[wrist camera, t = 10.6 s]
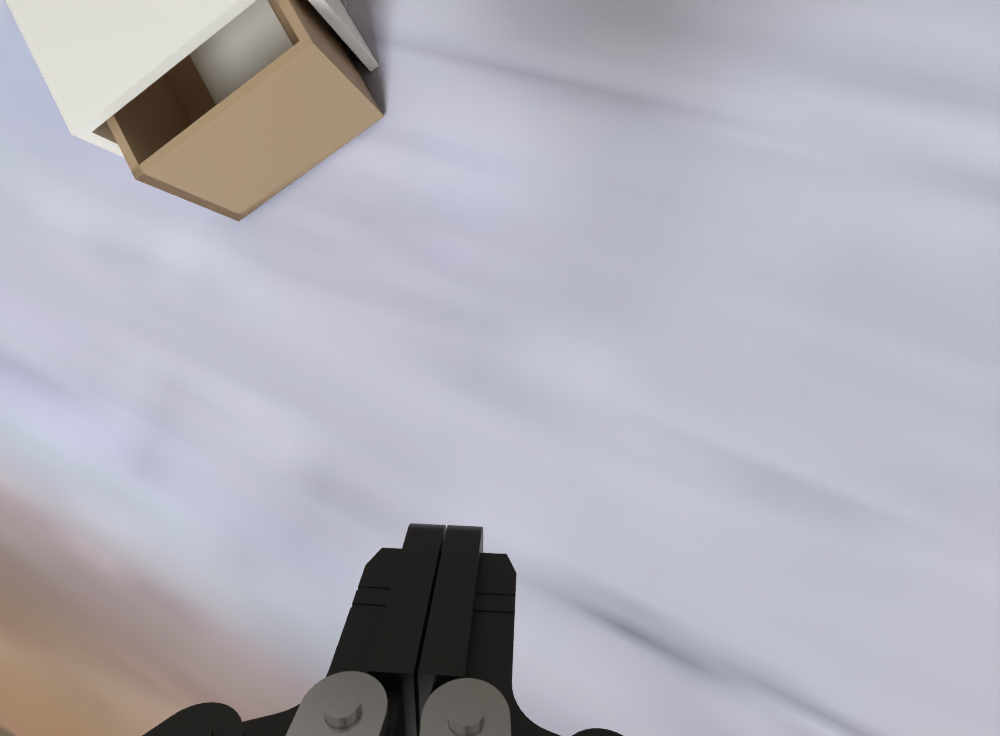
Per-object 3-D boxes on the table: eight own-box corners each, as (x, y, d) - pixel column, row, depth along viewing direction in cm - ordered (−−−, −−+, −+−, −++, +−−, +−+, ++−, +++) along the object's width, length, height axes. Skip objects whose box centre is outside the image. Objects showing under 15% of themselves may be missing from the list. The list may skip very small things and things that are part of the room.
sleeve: (380, 64, 37) (290, -45, 28) (205, 194, 39) (69, 134, 30) (289, -90, 39) (175, -242, 29) (127, 43, 41) (-26, -58, 32)
